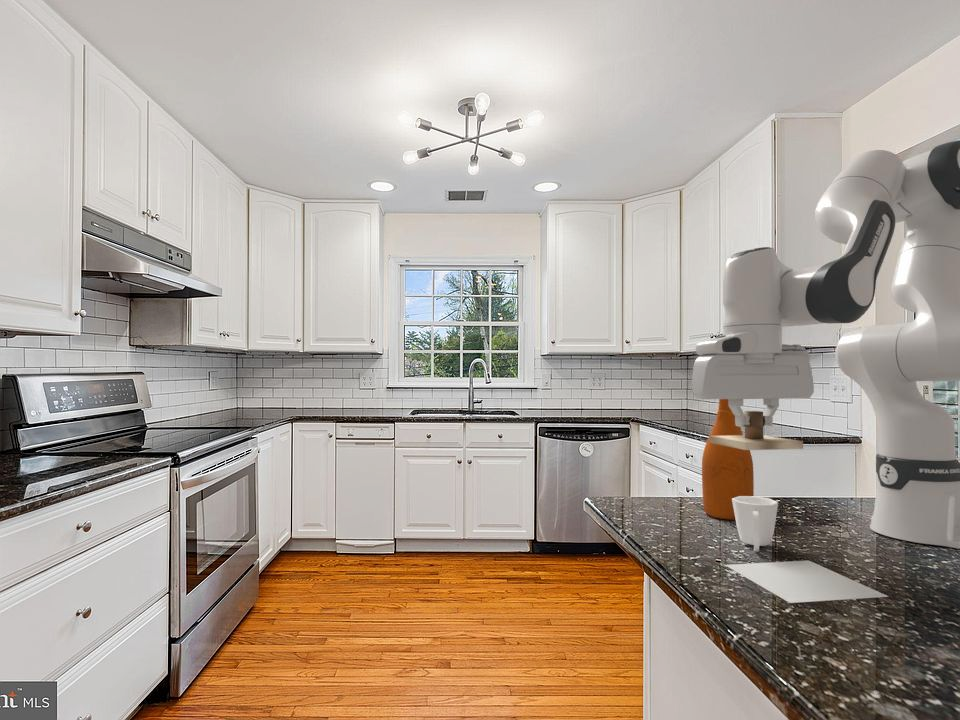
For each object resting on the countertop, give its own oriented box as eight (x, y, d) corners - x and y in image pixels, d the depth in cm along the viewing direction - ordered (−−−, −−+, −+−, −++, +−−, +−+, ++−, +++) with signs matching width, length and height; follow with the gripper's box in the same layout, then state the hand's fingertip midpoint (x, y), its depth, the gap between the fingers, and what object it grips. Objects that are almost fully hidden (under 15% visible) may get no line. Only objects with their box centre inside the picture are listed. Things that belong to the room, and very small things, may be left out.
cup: (777, 545, 93) (776, 497, 94) (782, 563, 84) (781, 510, 85) (732, 540, 96) (731, 494, 97) (732, 556, 87) (731, 506, 87)
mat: (808, 563, 84) (808, 560, 84) (888, 600, 70) (888, 596, 70) (724, 568, 82) (724, 564, 82) (790, 606, 68) (789, 602, 68)
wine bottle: (763, 521, 108) (760, 371, 109) (714, 521, 108) (711, 371, 109) (740, 509, 118) (738, 372, 119) (695, 509, 118) (693, 372, 119)
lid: (762, 441, 96) (761, 409, 97) (803, 448, 87) (802, 413, 87) (709, 442, 95) (709, 410, 95) (745, 450, 85) (744, 413, 85)
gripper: (795, 345, 96) (796, 423, 95) (686, 344, 93) (687, 425, 93) (822, 343, 90) (824, 427, 89) (706, 342, 87) (708, 428, 86)
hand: (753, 426), depth 91 cm, fingers closed on lid, 3 cm apart
